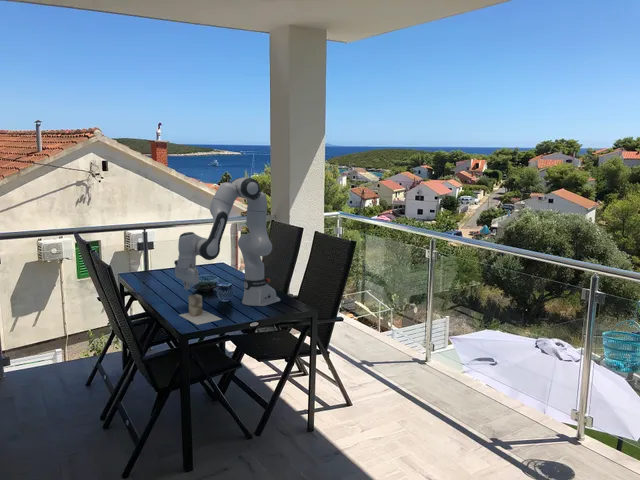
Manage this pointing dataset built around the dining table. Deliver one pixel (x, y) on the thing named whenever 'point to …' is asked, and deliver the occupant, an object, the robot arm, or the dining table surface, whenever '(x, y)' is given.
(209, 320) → the sand mat
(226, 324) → the dining table surface
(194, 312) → the birch block
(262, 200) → the robot arm
